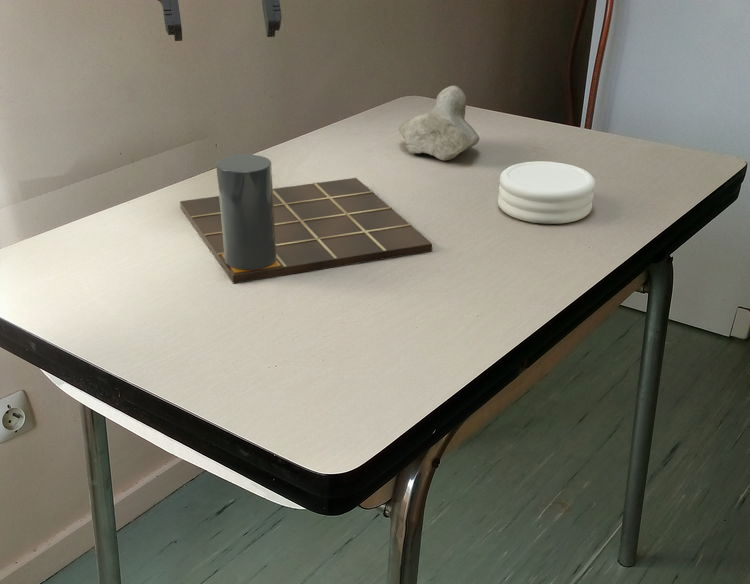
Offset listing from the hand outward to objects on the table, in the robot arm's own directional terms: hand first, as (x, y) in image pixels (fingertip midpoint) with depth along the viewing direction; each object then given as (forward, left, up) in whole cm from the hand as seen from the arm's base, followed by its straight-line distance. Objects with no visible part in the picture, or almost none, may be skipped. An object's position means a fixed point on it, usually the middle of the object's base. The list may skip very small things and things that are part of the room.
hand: (225, 34), depth 92 cm
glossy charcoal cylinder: (-2, -11, -17) cm, 20 cm away
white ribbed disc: (+31, -8, -18) cm, 37 cm away
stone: (+27, +12, -18) cm, 35 cm away
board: (+5, -4, -18) cm, 19 cm away
